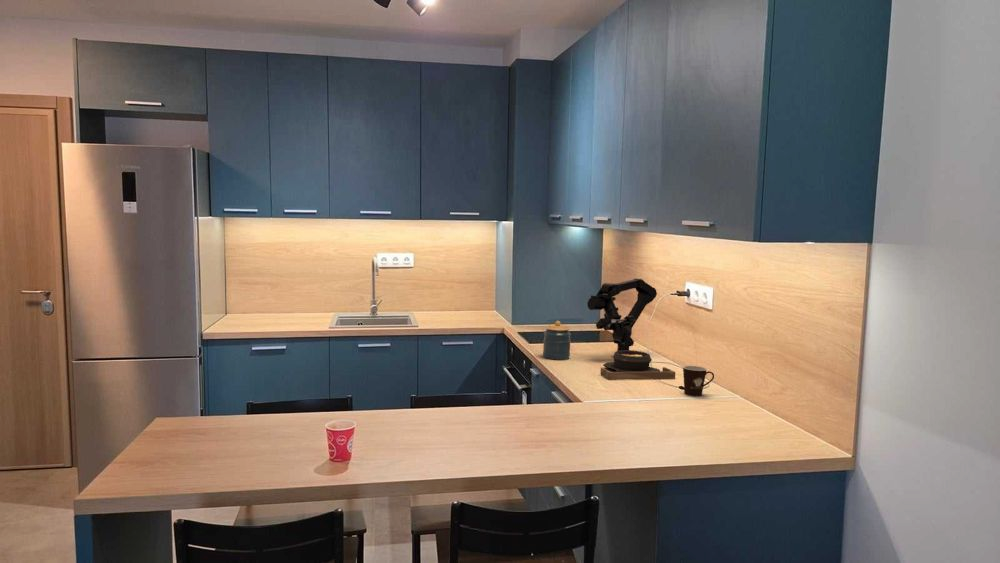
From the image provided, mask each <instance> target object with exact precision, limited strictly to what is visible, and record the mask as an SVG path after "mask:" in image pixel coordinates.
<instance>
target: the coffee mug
mask: <svg viewBox="0 0 1000 563" xmlns="http://www.w3.org/2000/svg"><path fill="white" fill-rule="evenodd" d="M682 371H683V391H684V394H685V395H687V396H691V397H701V396H702V395H703V389H704V387H705V386H707V385H708V384H710V383H711V382H713V381H714V378H715V374H714V373H713V372H712V371H707V368H705V367H702V366H696V365H685V366H683V367H682ZM708 374H711V375H712V377H711V379H709V381H707V382H706V383H705V379H706V375H708Z"/></svg>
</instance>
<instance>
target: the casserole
mask: <svg viewBox="0 0 1000 563" xmlns="http://www.w3.org/2000/svg"><path fill="white" fill-rule="evenodd" d="M611 358H613V361H611V362H610V361H609V362H606V363H603V368H604V367H605V368H608V369H610V370H614V371H616V372H655V371H661V370H660V369H659V368H655V367H652V366H650V363H651V362H652V360H653V359H652V357H651V355H650V354H649V353H647V352H644V351H639V350H630V349H629V350H620V351H617V350H616V351H614V353H613V355H612V356H611Z"/></svg>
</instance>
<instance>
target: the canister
mask: <svg viewBox="0 0 1000 563" xmlns="http://www.w3.org/2000/svg"><path fill="white" fill-rule="evenodd" d="M545 329H546V330H544V332H543V334H544V338H543V345H542V346H543V350H542V357H543V358H545V359H547V358H548V359H547V360H552V359H555V361H564V360H563V359H566V360H569V359H570V357H571V341H572V339H571V335H572V333H571V332H570V327H568V326H567V325H565V324H561V321H560V320H556V321H555V322H554V323H553V324H548V325H547V326H546V327H545ZM568 358H569V359H568Z"/></svg>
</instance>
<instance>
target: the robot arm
mask: <svg viewBox="0 0 1000 563" xmlns="http://www.w3.org/2000/svg"><path fill="white" fill-rule="evenodd" d="M633 289H635V291H636V292H637V295H636V296H637V297H636V298H637V300H636V301H635V303H634V305H633V307H632V308H631V310H630V311H629V313H628V314H627V315H626V316H625V317H623V316H622V315H621V314H619V307H617V306H616V304H615V302H614V301H616V299H617V298H616V296H618V295H619V294H620V293H622V292H624V291H629V290H633ZM657 293H658V292H657V289H656V288H655V287H653V286H652V285H650V284H649V283H648V282H645V280H644V279H642V278H634V279H630V280H626V281H622V282H616V283H615V282H613V283H610V282H609V283H608V282H607V283H603V284H602V285H601V287H600V289H599V290H598V292H596V295H592V294H591V295H590V298H589V299H588V301H587V302H586V303H587V305H586V306H587V308H588V309H589V310H590V311H602V310H603V311H604V313H603V317H602V318H599V319H598V321H597V322H596V323H595V327H596V329H597V330H602V329H603V330H604V331H612V333H611V335H612V339H613V343H614V344H615V345H616V346H617V348H616V351H620V350H630V347H633V346H634V344H635V340H634V339H633V338H632V334H633V332H632V331H633V330H632V329H633V327H634V326H635V324H636V322H637V321H638V319H639V317H640V316H641V314H642V313H643V311H644V309H645V308H646V306H647V305H648V304H650V303H652V302H653V301H654V300H655V299H656V297H657ZM622 317H623V318H622Z"/></svg>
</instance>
